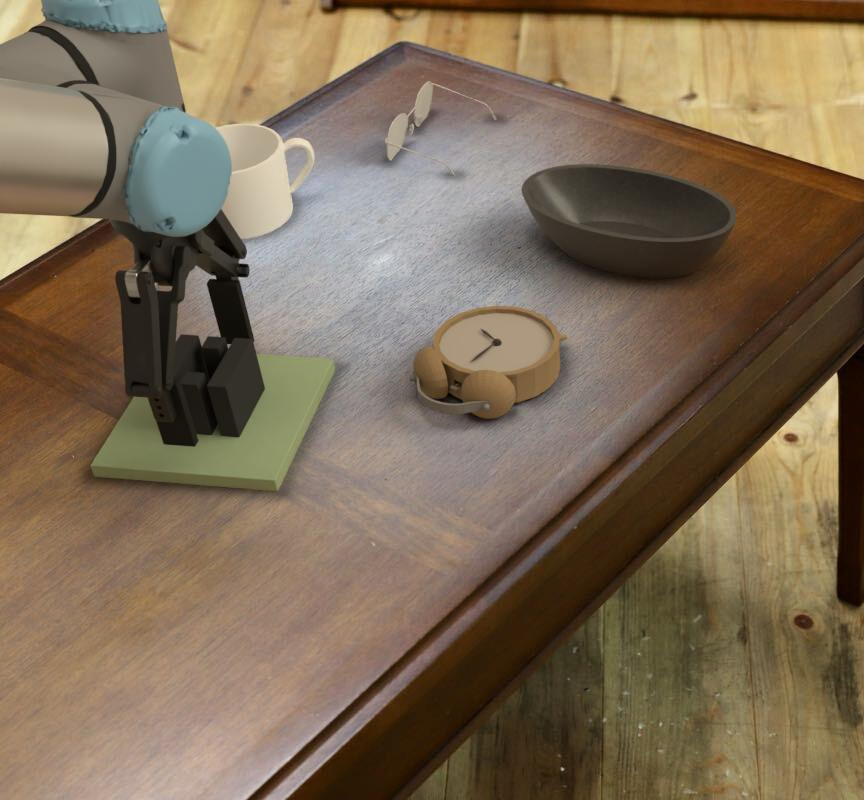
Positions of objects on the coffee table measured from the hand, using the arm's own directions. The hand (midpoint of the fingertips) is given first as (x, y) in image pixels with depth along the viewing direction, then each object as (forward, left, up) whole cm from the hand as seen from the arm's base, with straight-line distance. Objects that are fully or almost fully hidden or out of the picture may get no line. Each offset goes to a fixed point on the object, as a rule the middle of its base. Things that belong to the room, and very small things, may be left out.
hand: (211, 390), depth 117 cm
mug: (-8, +33, -4) cm, 34 cm away
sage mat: (0, 0, -4) cm, 4 cm away
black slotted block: (0, 0, -2) cm, 2 cm away
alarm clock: (+22, +8, -4) cm, 24 cm away
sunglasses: (+8, +49, -4) cm, 50 cm away
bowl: (+32, +29, -4) cm, 43 cm away
